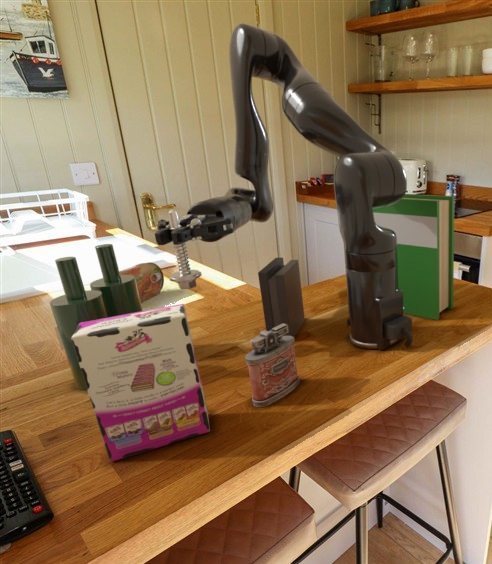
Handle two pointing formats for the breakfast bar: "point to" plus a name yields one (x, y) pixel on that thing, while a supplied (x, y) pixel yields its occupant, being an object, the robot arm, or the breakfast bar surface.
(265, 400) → the lighter
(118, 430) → the candy bar box
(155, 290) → the tin
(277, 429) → the breakfast bar surface
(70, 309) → the wine bottles
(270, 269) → the dark grey grooved block
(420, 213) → the hardback book
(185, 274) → the screw
